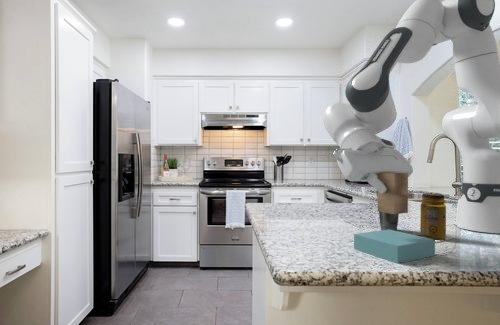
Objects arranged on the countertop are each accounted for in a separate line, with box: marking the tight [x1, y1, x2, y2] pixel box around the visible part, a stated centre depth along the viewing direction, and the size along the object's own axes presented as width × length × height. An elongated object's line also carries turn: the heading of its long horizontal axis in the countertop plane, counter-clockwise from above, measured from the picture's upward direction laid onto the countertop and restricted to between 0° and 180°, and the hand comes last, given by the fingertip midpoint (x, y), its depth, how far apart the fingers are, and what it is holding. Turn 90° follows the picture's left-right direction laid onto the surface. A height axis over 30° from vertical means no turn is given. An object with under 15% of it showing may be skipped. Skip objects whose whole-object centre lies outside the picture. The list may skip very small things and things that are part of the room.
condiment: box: [415, 193, 453, 244], centre depth 86 cm, size 7×8×12 cm
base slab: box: [353, 229, 436, 264], centre depth 72 cm, size 12×12×4 cm
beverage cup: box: [375, 189, 400, 231], centre depth 96 cm, size 7×7×20 cm
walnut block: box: [377, 173, 409, 215], centre depth 72 cm, size 4×4×9 cm
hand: (395, 191), depth 72 cm, fingers closed on walnut block, 4 cm apart
